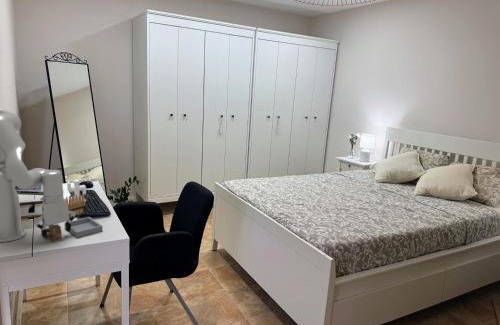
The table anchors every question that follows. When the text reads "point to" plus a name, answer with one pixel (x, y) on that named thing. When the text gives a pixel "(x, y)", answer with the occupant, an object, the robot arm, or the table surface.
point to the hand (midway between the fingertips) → (57, 234)
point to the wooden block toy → (54, 232)
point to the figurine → (76, 188)
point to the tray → (84, 227)
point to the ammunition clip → (76, 205)
